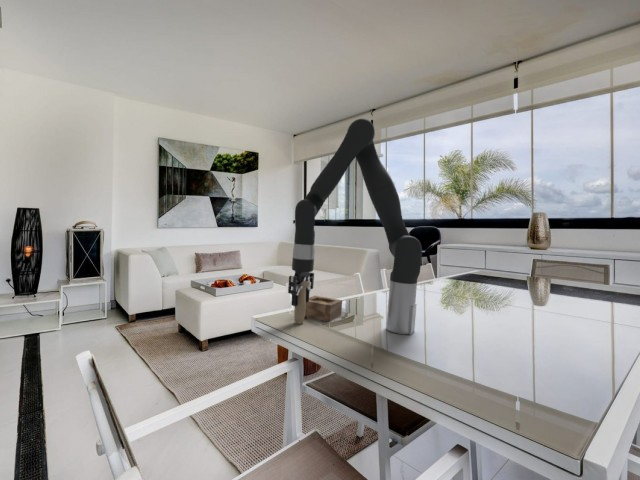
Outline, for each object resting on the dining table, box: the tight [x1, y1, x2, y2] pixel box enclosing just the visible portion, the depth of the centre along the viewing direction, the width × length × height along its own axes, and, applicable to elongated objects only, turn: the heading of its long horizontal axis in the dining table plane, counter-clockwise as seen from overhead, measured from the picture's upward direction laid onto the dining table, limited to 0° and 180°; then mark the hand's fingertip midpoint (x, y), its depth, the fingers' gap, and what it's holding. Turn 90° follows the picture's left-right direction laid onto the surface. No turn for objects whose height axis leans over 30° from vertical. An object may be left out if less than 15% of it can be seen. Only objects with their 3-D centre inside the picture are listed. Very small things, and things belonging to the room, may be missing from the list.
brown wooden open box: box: [305, 295, 343, 322], centre depth 129 cm, size 12×11×6 cm
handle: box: [293, 281, 311, 325], centre depth 117 cm, size 5×6×15 cm
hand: (300, 303), depth 117 cm, fingers open, 7 cm apart
